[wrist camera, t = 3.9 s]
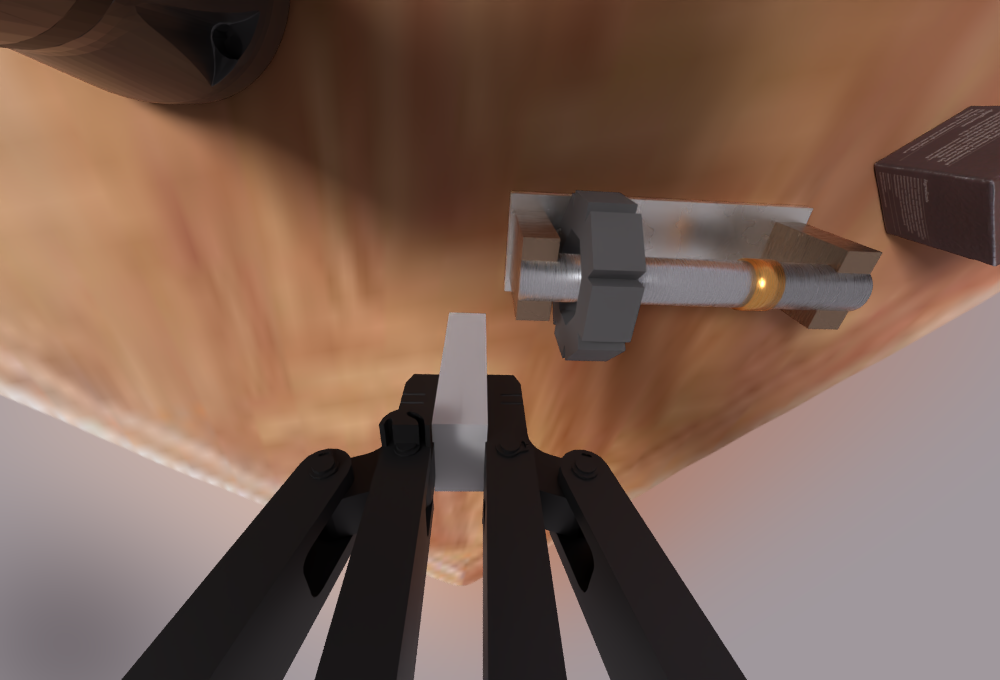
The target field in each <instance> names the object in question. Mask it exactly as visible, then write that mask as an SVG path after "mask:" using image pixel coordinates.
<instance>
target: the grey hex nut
mask: <svg viewBox="0 0 1000 680" xmlns="http://www.w3.org/2000/svg"><path fill="white" fill-rule="evenodd" d="M637 207H638V204H637V203H635V202H633V201H632V200H630V199H629V198H627V197H626V196H624V195H623V194H621V193H619V192H599V191H580V190H576V191H575V193H572V195H571V198H570V200H569V203H568V205H567V207H566V210H565V212H564V215H563V217H562V220H561V231H560V230H559V232H558V235H559V237H560V246H559V253H568V254H580V256H581V283H580V289H579V295H578V300H577V302H553V324H556V326H555V336H556V339H557V343H558V346H559V349H560V352H561V355H562V358H565V360H574V361H608V360H610V359H611V358H613V357H615V356H617V355H619V354H620V353H622V352H624V351H625V342H630V341H631V338H632V334H633V330H634V327H635V323H636V319H637V315H638V312H639V308H640V304H641V301H642V297H643V293H644V289H645V287H644V286H643V285H642V284H641V283H640V282H639V280H638V279H639V278H640V277H641V276H642V275H643V274H644V273H645V272H646V261H645V249H644V237H643V225H642V214H636V211H637Z"/></svg>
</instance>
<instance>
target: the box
mask: <svg viewBox="0 0 1000 680" xmlns="http://www.w3.org/2000/svg"><path fill="white" fill-rule="evenodd" d="M875 171H876V177H877V183H878V188H879V193H880V198H881V204H882V209H883V216H884V222H885V227H886V232H887V233H889V234H892V235H896V236H899V237H902V238H905V239H908V240H912V241H915V242H918V243H921V244H925V245H928V246H931V247H934V248H937V249H941V250H944V251H948V252H951V253H954V254H957V255H960V256H963V257H966V258H969V259H974V260H978V261H981V262H984V263H986V264H989V265H992V266H997V265H999V264H1000V106H970V107H968V108H967V109H965V110H963V111H962V112H960V113H959V114H957V115H955V116H953V117H952V118H950V119H948V120H947V121H945V122H943V123H942V124H940V125H938V126H937V127H935V128H933V129H932V130H930V131H929V132H927V133H925V134H923V135H922V136H920V137H918V138H917V139H915V140H913V141H912V142H910V143H908V144H907V145H905V146H903V147H902V148H900V149H898V150H897V151H895V152H893V153H892V154H890V155H888V156H887V157H885V158H883V159H882V160H880V161H878V162H876V163H875Z"/></svg>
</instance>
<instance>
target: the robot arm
mask: <svg viewBox="0 0 1000 680" xmlns="http://www.w3.org/2000/svg"><path fill="white" fill-rule="evenodd" d="M289 6H290V0H0V47H3V48H9V49H12V50H14V51H16V52H18V53H21V54H23V55H25V56H28V57H30V58H32V59H34V60H37V61H39V62H41V63H43V64H46V65H48V66H50V67H53V68H55V69H57V70H59V71H62V72H64V73H66V74H68V75H71V76H73V77H75V78H78V79H80V80H82V81H84V82H87V83H89V84H91V85H94V86H96V87H98V88H101V89H103V90H106V91H108V92H111V93H114V94H117V95H120V96H124V97H128V98H132V99H136V100H140V101H146V102H151V103H161V104H201V103H209V102H214V101H218V100H222V99H225V98H227V97H230V96H232V95H234V94H236V93H238V92H240V91H241V90H243V89H245V88H246V87H247V86H249V85H250V84H251V83H252V82H254V81H255V80H256V79H257V78H258V77H259V76H260V75H261V73H262V72H263V71H264V70H265V69H266V67H267V66H268V64H269V63H270V61H271V60H272V58H273V56H274V54H275V53H276V51H277V49H278V46H279V44H280V42H281V39H282V36H283V33H284V30H285V26H286V22H287V18H288V12H289ZM379 428H380V435H381V442H382V447H381V448H379V449H377V450H375V451H374V452H371V453H368V454H365V455H360V456H356V457H352V458H350V456H349V455H348V454H347V453H346V452H345V451H342V450H340V449H325V450H320V451H317V452H315V453H313V454H311V455H310V456H308V457H307V458H306V459H305V460H304V461H302V462H301V463H300V465H299V466H298V467H297V468H296V469H295V471H294V472H293V473H292V474H291V475H290V477H289V478H288V479H287V480H286V481H285V483H284V484H283V485H282V486H281V488H280V489H279V490H278V491H277V492H276V494H275V495H274V496H273V497H272V498H271V500H270V501H269V502H268V503H267V504H266V506H265V507H264V508H263V509H262V510H261V512H260V513H259V514H258V515H257V517H256V518H255V519H254V520H253V521H252V523H251V524H250V525H249V526H248V528H247V529H246V530H245V531H244V532H243V533H242V535H241V536H240V537H239V539H237V541H236V542H235V543H234V544H233V546H232V547H231V548H230V549H229V550H228V552H227V553H226V554H225V555H224V556H223V558H222V559H221V560H220V561H219V562H218V564H217V565H216V566H215V567H214V569H213V570H212V571H211V572H210V573H209V575H208V576H207V577H206V578H205V579H204V581H203V582H202V583H201V584H200V586H199V587H198V588H197V589H196V590H195V591H194V593H193V594H192V595H191V596H190V598H189V599H188V600H187V601H186V602H185V604H184V605H183V606H182V607H181V608H180V610H179V611H178V612H177V613H176V614H175V616H174V617H173V618H172V619H171V620H170V622H169V623H168V624H167V625H166V627H165V628H164V629H163V630H162V631H161V633H160V634H159V635H158V636H157V637H156V639H155V640H154V641H153V642H152V644H151V645H150V646H149V647H148V648H147V650H146V651H145V652H144V653H143V654H142V656H141V657H140V658H139V659H138V660H137V662H136V663H135V664H134V665H133V666H132V668H131V669H130V670H129V671H128V672H127V674H126V675H125V676H124V677H123V678H122V680H283V678H284V676H285V675H286V673H287V671H288V669H289V667H290V665H291V663H292V662H293V660H294V658H295V656H296V654H297V652H298V650H299V649H300V647H301V645H302V643H303V641H304V640H305V638H306V636H307V634H308V632H309V630H310V628H311V626H312V625H313V623H314V621H315V619H316V617H317V615H318V614H319V612H320V610H321V608H322V606H323V605H324V603H325V601H326V599H327V597H328V595H329V593H330V592H331V590H332V588H333V586H334V584H335V582H336V580H337V579H338V577H339V575H340V573H341V571H342V570H343V568H344V566H345V564H346V562H347V560H348V558H349V557H350V560H349V563H348V566H347V570H346V573H345V577H344V580H343V584H342V587H341V591H340V594H339V597H338V601H337V604H336V608H335V611H334V615H333V618H332V622H331V625H330V628H329V632H328V635H327V639H326V642H325V646H324V650H323V653H322V656H321V660H320V663H319V666H318V670H317V674H316V677H315V680H414V672H415V663H416V655H417V646H418V637H419V629H420V621H421V612H422V603H423V595H424V586H425V577H426V569H427V561H428V552H429V544H430V535H431V527H432V518H433V510H434V504H433V494H434V486H435V491H484V499H483V518H482V524H483V680H567V677H566V671H565V663H564V656H563V649H562V643H561V636H560V629H559V622H558V615H557V608H556V602H555V595H554V588H553V581H552V574H551V567H550V561H549V554H548V547H547V540H546V533H545V529H546V530H549V531H550V535H551V537H552V540H553V542H554V544H555V547H556V549H557V552H558V554H559V556H560V559H561V561H562V564H563V566H564V568H565V571H566V573H567V575H568V578H569V581H570V583H571V585H572V588H573V590H574V592H575V595H576V597H577V600H578V602H579V605H580V607H581V609H582V612H583V614H584V617H585V619H586V622H587V624H588V626H589V629H590V631H591V634H592V635H593V638H594V641H595V643H596V646H597V648H598V651H599V653H600V655H601V658H602V660H603V663H604V665H605V667H606V670H607V672H608V675H609V677H610V680H747V679H746V678H745V676H744V675H743V673H742V672H741V670H740V668H739V667H738V665H737V664H736V662H735V661H734V659H733V658H732V656H731V654H730V653H729V651H728V650H727V648H726V647H725V646H724V644H723V642H722V641H721V639H720V638H719V636H718V634H717V633H716V631H715V630H714V628H713V627H712V625H711V624H710V622H709V621H708V619H707V618H706V616H705V615H704V613H703V611H702V610H701V608H700V607H699V605H698V604H697V602H696V601H695V599H694V598H693V596H692V594H691V593H690V591H689V590H688V588H687V587H686V585H685V584H684V582H683V581H682V579H681V578H680V576H679V575H678V573H677V571H676V570H675V568H674V567H673V565H672V564H671V562H670V561H669V559H668V557H667V556H666V555H665V553H664V551H663V550H662V548H661V547H660V545H659V544H658V542H657V541H656V539H655V537H654V536H653V534H652V533H651V531H650V530H649V528H648V527H647V525H646V524H645V522H644V520H643V519H642V518H641V516H640V514H639V513H638V511H637V510H636V508H635V507H634V505H633V504H632V502H631V500H630V499H629V497H628V496H627V494H626V493H625V491H624V490H623V488H622V487H621V485H620V484H619V482H618V480H617V479H616V477H615V476H614V474H613V473H612V471H611V470H610V468H609V467H608V465H607V464H606V463H605V461H604V460H603V459H602V458H601V457H599V456H598V455H596V454H594V453H593V452H589V451H586V450H573V451H570V452H568V453H566V454H565V455H564V456H563V457H562V458H560V457H556V456H553V455H549V454H546V453H544V452H542V451H540V450H539V449H537V448H536V447H535V446H534V445H533V444H532V443H531V441H530V440H529V438H528V434H527V427H526V420H525V413H524V405H523V398H522V391H521V384H520V383H519V382H518V380H517V379H516V378H515V376H514V375H487V357H486V314H481V313H449V318H448V324H447V330H446V337H445V343H444V349H443V356H442V362H441V368H440V375H432V374H414V375H413V376H412V377H411V378H410V379H409V380H408V381H407V382H406V384H405V388H404V391H403V395H402V398H401V404H400V406H399V409H398V410H396V411H393V412H390V413H389V414H388V415H386V416H385V417H384V418H383V419H382V420H381V422H380V424H379ZM350 555H351V556H350Z"/></svg>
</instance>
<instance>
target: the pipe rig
mask: <svg viewBox="0 0 1000 680" xmlns="http://www.w3.org/2000/svg"><path fill="white" fill-rule="evenodd" d="M571 195H572V194H562V193H543V192H523V191H510V204H509V219H508V234H507V249H506V264H505V280H504V291H511V292H512V298H513V304H514V310H515V317H516V320H534V321H549V319H550V311H551V304H552V302H577V300H578V295H579V289H580V283H581V256H580V254H568V253H559V246H560V237H559V235H558V232H559V230H560V231H561V220H562V217H563V215H564V212H565V210H566V207H567V205H568V203H569V200H570V198H571ZM627 198H629V199H630V200H632V201H633V202H635V203H637V204H638V207H637V211H636V214H642V225H643V237H644V249H645V261H646V272H645V273H644V274H643V275H642V276H641V277H640V278H639V279H638V280H639V282H640V283H641V284H642V285H643V286H644V287H645V289H644V293H643V297H642V301H641V304H640V305H671V306H701V307H731V308H732V309H734V310H748V311H767V310H770V309H780V310H782V311H783V312H784V313H786V314H787V315H789V316H790V317H792V318H793V319H795V320H796V321H797V322H799V323H800V324H802V325H803V326H805V327H806V328H808V329H838V328H839V327H840V325H841V323H842V321H843V320H844V318H845V316H846V314H847V313H848V311H853V310H856V309H858V308H860V307H861V306H863V305H864V304H865V303H866V301H867V300H868V299H869V297H870V295H871V292H872V288H873V282H872V277H871V275H870V273H871V272H872V270H873V268H874V266H875V265H876V263H877V261H878V259H879V258H880V256H881V254H882V252H880V251H877V250H874V249H871V248H869V247H866V246H863V245H861V244H858V243H855V242H853V241H850V240H847V239H845V238H842V237H839V236H837V235H834V234H831V233H829V232H826V231H823V230H820V229H818V228H815V227H812V226H810V225H807V224H806V223H807V221H808V219H809V217H810V214H811V212H812V210H813V208H810V207H807V206H799V205H779V204H759V203H740V202H720V201H700V200H681V199H661V198H641V197H627Z"/></svg>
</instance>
